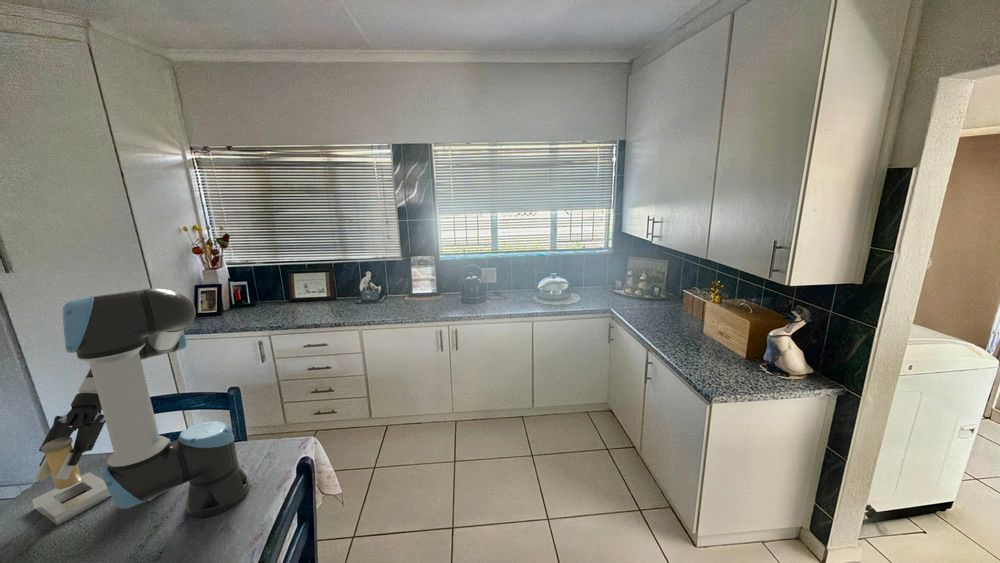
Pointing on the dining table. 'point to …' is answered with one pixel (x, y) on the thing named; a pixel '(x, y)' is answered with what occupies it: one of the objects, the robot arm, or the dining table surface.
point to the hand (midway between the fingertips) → (50, 479)
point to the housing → (60, 512)
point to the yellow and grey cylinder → (60, 461)
